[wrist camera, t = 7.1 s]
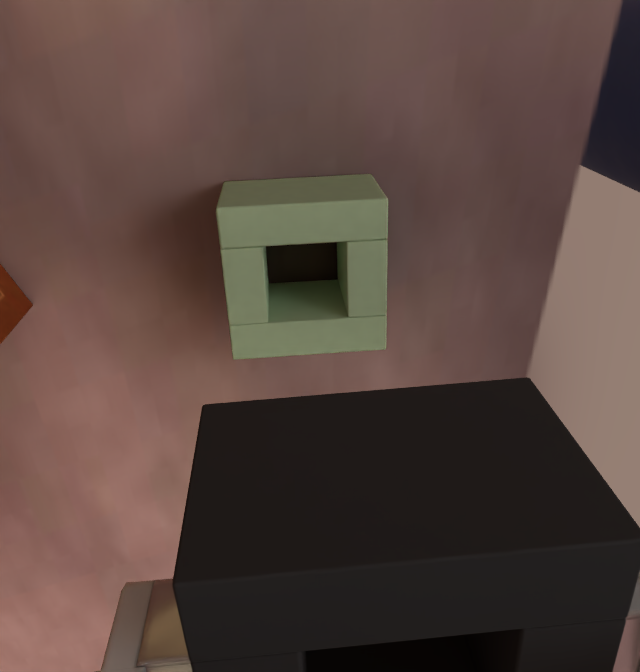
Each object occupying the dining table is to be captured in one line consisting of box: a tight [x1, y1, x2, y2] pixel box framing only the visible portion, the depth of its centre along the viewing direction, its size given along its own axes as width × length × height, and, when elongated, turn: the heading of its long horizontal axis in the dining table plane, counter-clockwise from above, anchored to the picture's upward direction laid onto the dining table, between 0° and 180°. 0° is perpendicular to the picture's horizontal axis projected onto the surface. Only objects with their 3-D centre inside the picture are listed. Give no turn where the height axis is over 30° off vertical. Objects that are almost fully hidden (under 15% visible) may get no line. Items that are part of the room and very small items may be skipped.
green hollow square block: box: [216, 174, 388, 360], centre depth 24 cm, size 6×6×4 cm
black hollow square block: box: [172, 378, 640, 672], centre depth 11 cm, size 6×6×4 cm
